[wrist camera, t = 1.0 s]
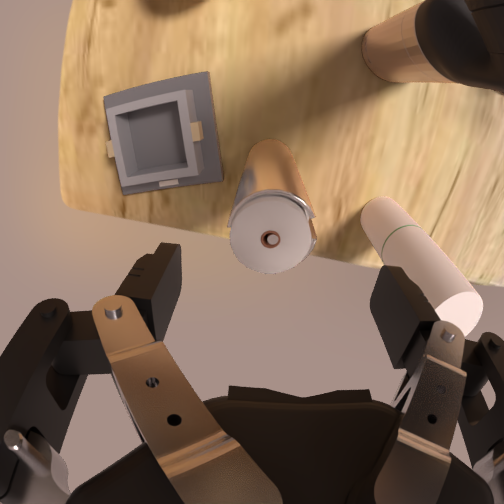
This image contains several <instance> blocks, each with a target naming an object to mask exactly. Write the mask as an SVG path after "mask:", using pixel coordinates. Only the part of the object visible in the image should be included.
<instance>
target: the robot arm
mask: <svg viewBox="0 0 504 504" xmlns="http://www.w3.org/2000/svg"><path fill="white" fill-rule="evenodd" d="M362 54H363V58H364V60H365V62H366V64H367V66H368V67H369V69H370V70H371V71H372V72H373V73H374V74H376V75H377V76H378V77H380V78H382V79H384V80H386V81H389V82H436V83H460V84H463V85H467V86H471V87H479V88H485V89H490V90H495V91H499V92H503V93H504V0H425V1H423V2H421V3H419V4H417V5H414V6H413V7H411V8H409V9H407V10H405V11H403V12H401V13H399V14H397V15H395V16H393V17H391V18H389V19H387V20H385V21H384V22H382V23H380V24H378V25H376V26H374V27H373V28H371V29H370V30H369V31H368V32H367V33H366V34H365V36H364V38H363V41H362ZM181 268H182V267H181V246H180V244H171V243H160V245H159V246H158V248H157V249H156V251H155V253H154V254H146V255H144V256H143V257H141V258H140V259H138V260H137V261H136V263H135V264H134V266H133V267H132V269H131V270H130V272H129V273H128V275H127V276H126V278H125V279H124V281H123V282H122V284H121V285H120V287H119V289H118V290H117V292H116V293H115V295H112V296H108V297H105V298H103V299H101V300H99V301H98V302H97V303H96V304H95V305H94V306H93V309H92V310H91V311H77V312H70V310H69V307H68V304H67V303H66V302H65V301H63V300H61V299H56V298H54V299H53V298H52V299H47V300H44V301H42V302H40V303H38V304H37V305H36V306H35V307H34V308H33V309H32V310H31V312H30V313H29V315H28V316H27V317H26V319H25V320H24V322H23V323H22V324H21V326H20V327H19V329H18V330H17V332H16V333H15V335H14V336H13V338H12V339H11V341H10V342H9V344H8V345H7V347H6V348H5V350H4V351H3V353H2V355H1V356H0V504H504V341H503V340H502V339H501V338H500V337H499V336H497V335H496V334H494V333H491V332H485V333H483V334H482V335H481V337H480V339H479V340H478V342H474V341H470V340H466V339H465V337H464V334H463V332H462V331H461V330H460V329H459V328H458V327H457V326H456V325H454V324H453V323H450V322H448V321H443V320H441V319H440V318H439V316H438V315H437V313H436V312H435V310H434V308H433V307H432V305H431V304H430V302H428V299H427V298H426V296H424V293H423V292H422V290H421V289H420V287H419V286H418V285H417V284H415V283H414V282H413V281H412V280H411V279H409V277H408V276H407V275H406V273H405V272H404V270H403V269H402V268H401V267H399V266H389V265H384V266H382V268H381V269H380V272H379V275H378V278H377V281H376V284H375V287H374V290H373V292H372V296H371V299H370V310H371V313H372V315H373V318H374V320H375V322H376V325H377V327H378V330H379V332H380V335H381V337H382V339H383V342H384V344H385V347H386V349H387V352H388V355H389V357H390V360H391V362H392V365H393V368H394V369H403V368H406V370H407V372H406V373H405V375H404V376H403V378H402V381H401V383H400V385H399V387H398V389H397V392H396V394H395V396H394V398H393V400H392V402H391V405H388V404H385V403H383V402H380V401H376V400H372V398H371V394H370V391H369V389H366V390H337V391H333V392H329V393H324V394H320V395H315V396H310V397H303V398H302V397H297V396H293V395H289V394H285V393H281V392H277V391H273V390H269V389H266V388H251V387H239V386H229V391H228V396H221V397H217V398H212V399H209V400H206V401H203V402H202V401H201V399H200V398H199V397H198V395H197V394H196V392H195V391H194V389H193V388H192V386H191V385H190V383H189V382H188V380H187V379H186V378H185V376H184V374H183V373H182V371H181V370H180V368H179V367H178V365H177V364H176V362H175V361H174V359H173V357H172V356H171V354H170V353H169V351H168V349H167V348H166V346H165V345H164V343H163V340H164V337H165V334H166V331H167V328H168V325H169V323H170V320H171V317H172V314H173V311H174V309H175V306H176V303H177V301H178V298H179V295H180V291H181V285H182V269H181ZM88 374H111V376H112V378H113V381H114V383H115V385H116V388H117V390H118V393H119V395H120V397H121V399H122V402H123V404H124V406H125V408H126V410H127V413H128V415H129V417H130V419H131V421H132V424H133V426H134V428H135V430H136V432H137V434H138V436H139V438H140V440H141V442H142V444H141V445H140V446H138V447H137V448H135V449H134V450H132V451H131V452H130V453H128V454H127V455H125V456H124V457H122V458H121V459H120V460H118V461H116V462H115V463H114V464H112V465H111V466H109V467H108V468H106V469H105V470H103V471H102V472H100V473H98V474H97V475H95V476H94V477H92V478H91V479H89V480H88V481H86V482H84V483H83V484H81V485H80V486H78V487H77V488H76V489H75V490H74V491H73V492H72V493H70V491H69V488H68V482H67V479H68V468H67V465H66V463H65V461H64V459H63V458H62V457H61V456H60V455H59V453H60V450H61V447H62V444H63V441H64V438H65V435H66V432H67V429H68V426H69V424H70V420H71V418H72V415H73V412H74V409H75V407H76V404H77V401H78V399H79V396H80V394H81V391H82V389H83V386H84V383H85V381H86V379H87V376H88ZM488 380H489V381H490V383H491V385H492V387H493V389H494V391H495V394H496V401H495V404H494V406H493V407H492V408H491V409H490V410H489V409H488V406H487V404H486V402H485V399H484V397H483V395H482V392H481V389H482V388H483V386H484V385H485V384H486V383H487V381H488ZM457 420H458V423H459V426H460V429H461V432H462V435H463V438H464V441H465V445H466V448H467V451H468V454H469V458H470V462H471V465H472V469H473V470H472V469H471V468H469V467H468V466H467V465H466V464H464V463H463V462H462V461H460V460H459V459H458V458H457V457H456V456H454V455H453V454H452V453H451V452H449V449H450V446H451V442H452V439H453V435H454V431H455V427H456V424H457Z"/></svg>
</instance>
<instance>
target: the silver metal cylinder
mask: <svg viewBox="0 0 504 504" xmlns="http://www.w3.org/2000/svg"><path fill="white" fill-rule="evenodd" d="M314 217H316V216H315V213H314V210H313V207H312V205H311V202H310V199H309V197H308V194H307V191H306V189H305V186H304V183H303V181H302V178H301V176H300V173H299V170H298V168H297V165H296V163H295V160H294V158H293V155H292V153H291V151H290V149H289V148H288V147H287V146H286V145H285V144H284V143H282V142H281V141H278V140H275V139H266V140H262V141H260V142H258V143H256V144H255V145H254V146H253V147H252V149H251V150H250V152H249V155H248V158H247V161H246V164H245V167H244V170H243V174H242V177H241V180H240V183H239V187H238V190H237V193H236V197H235V200H234V203H233V206H232V210H231V213H230V217H229V221H228V225H227V227H231V231H230V245H231V248H232V250H233V253H234V254H235V256H236V257H237V258H238V260H239V261H240V262H241V263H242V264H244V265H245V266H246V267H248V268H250V269H252V270H254V271H257V272H261V273H265V274H276V273H280V272H284V271H287V270H289V269H291V268H293V267H295V266H296V265H298V264H299V263H300V262H302V261H303V260H304V259H305V258H306V257H307V256H308V255H309V254H310V252H311V251H312V250H313V248H314V245H315V243H316V240H317V236H316V233H315V229H314V226H313V223H312V220H311V219H312V218H314Z"/></svg>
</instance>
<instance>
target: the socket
mask: <svg viewBox="0 0 504 504" xmlns="http://www.w3.org/2000/svg"><path fill="white" fill-rule="evenodd" d="M104 103H105V110H106V115H107V121H108V127H109V132H110V137H111V140H109V141H106V147H107V152H108V156H109V158H111V157H115V162H116V166H117V171H118V175H119V179H120V184H121V188H122V192H123V195H126V194H132V193H139V192H145V191H152V190H158V189H165V188H172V187H180V186H187V185H195V184H204V183H212V182H221V181H223V179H224V176H223V169H222V162H221V155H220V148H219V141H218V133H217V126H216V119H215V111H214V104H213V96H212V89H211V81H210V73H209V72H208V71H206V72H201V73H195V74H190V75H185V76H180V77H175V78H170V79H166V80H161V81H157V82H153V83H149V84H145V85H141V86H138V87H134V88H130V89H127V90H123V91H120V92H117V93H113V94H110V95H107V96H104Z"/></svg>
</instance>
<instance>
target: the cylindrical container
mask: <svg viewBox="0 0 504 504" xmlns="http://www.w3.org/2000/svg"><path fill="white" fill-rule="evenodd" d="M360 222H361V226H362V228H363V230H364V232H365V233H366V235H367V236H368V238H369V240H370V241H371V243H372V245H373V246H374V248H375V250H376V251H377V253H378V255H379V256H380V258H381V260H382V262H383V263H384V265H389V266H399V267H401V268H402V269H403V270H404V272H405V273H406V275H407V276H408V277H409V279H411V280H412V281H413V282H414V283H415V284H417V285H418V286H419V287H420V289H421V290H422V292H423V293H424V296H426V298H427V299H428V302H430V304H431V305H432V307H433V308H434V310H435V312H436V313H437V315H438V316H439V318H440V319H441V320H443V321H448V322H450V323H453V324H454V325H456V326H457V327H458V328H459V329H460V330H461V331H462V332H463V334H464V337H465V336H466V335H468V334H469V333H470V332H471V330H472V329H473V328H474V327H475V325H476V324H477V323H478V321H479V319H480V317H481V313H482V310H483V301H482V299H481V297H480V296H479V294H478V293H477V292H476V290H475V289H474V288H473V287H472V285H471V284H470V283H469V282H468V280H467V279H466V278H465V277H464V275H463V274H462V273H461V272H460V271H459V269H458V268H457V267H456V266H455V265H454V263H453V262H452V261H451V260H450V259H449V258H448V256H447V255H446V254H445V253H444V252H443V251H442V250H441V248H440V247H439V246H438V245H437V244H436V243H435V242H434V241H433V240H432V238H431V237H430V236H429V235H428V234H427V233H426V232H425V231H424V230H423V229H422V228H421V227H420V226H419V225H418V224H417V223H416V221H415V220H414V219H413V218H412V217H411V216H410V215H409V214H408V213H407V212H406V211H405V210H404V209H403V208H402V207H401V206H400V205H399V204H398V203H397V202H396V201H395V200H393V199H392V198H389V197H385V196H382V197H376V198H374V199H372V200H370V201H369V202H368V203H367V204H366V205H365V207H364V208H363V210H362V213H361V217H360Z"/></svg>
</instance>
